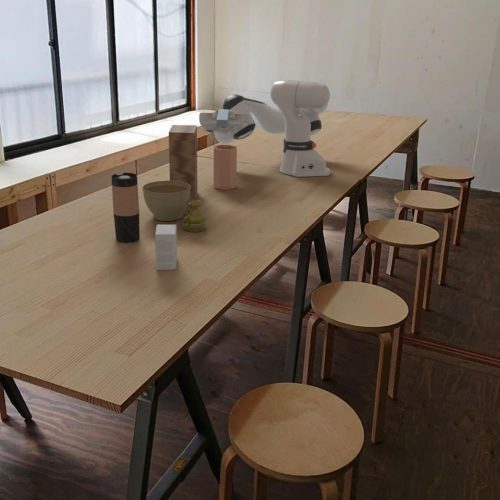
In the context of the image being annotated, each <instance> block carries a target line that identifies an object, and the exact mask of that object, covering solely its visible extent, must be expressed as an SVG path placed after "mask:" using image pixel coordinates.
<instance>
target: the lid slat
mask: <svg viewBox="0 0 500 500" xmlns="http://www.w3.org/2000/svg"><path fill="white" fill-rule="evenodd" d="M228 118H229V110H226V109H223V108H222V109H218V115H217V126H216V127H227V126H228Z"/></svg>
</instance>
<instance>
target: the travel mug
mask: <svg viewBox="0 0 500 500" xmlns="http://www.w3.org/2000/svg"><path fill="white" fill-rule="evenodd" d="M138 187H139V184H138V175H137V174H136V173H133V172H123V173H122V174H117V173H114V174H112V175H111V191H112V192H111V193H112V194H111V195H112V208H113V209H112V210H113V211H112V212H113V220H114V221H113V222H114V232H115V240H116V241H117V242H118V241H119V243H121V242H124V243H123V244H130V243H129V242H132V243H135V242H134V241H136V242H138V241H140V236H141V233H140V232H141V231H140V229H141V228H140V203H139V201H140V200H139V188H138ZM137 240H138V241H137Z"/></svg>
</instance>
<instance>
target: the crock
mask: <svg viewBox="0 0 500 500" xmlns="http://www.w3.org/2000/svg"><path fill="white" fill-rule="evenodd" d="M237 147H238V146H236V145H232V144H218V145H214V146H213V188H214V189H216V190H221V191H230V190H234V189H236V188H237V158H238V157H237V156H238V155H237V154H238V153H237V151H238V149H237Z"/></svg>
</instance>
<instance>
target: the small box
mask: <svg viewBox="0 0 500 500" xmlns="http://www.w3.org/2000/svg"><path fill="white" fill-rule="evenodd" d="M177 226H178V225H177V224H156V227H155V233H154V234H155V235H154V239H155V246H154V247H155V264H156V265H155V266H156V267H155V268H156V269H157V270H158V271H161V270H162V271H166V270H167V271H175V270H174V269H176V270H177V262H178V261H177V260H178V236H177V235H178V234H177V231H178V230H177ZM157 270H156V271H157Z"/></svg>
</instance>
